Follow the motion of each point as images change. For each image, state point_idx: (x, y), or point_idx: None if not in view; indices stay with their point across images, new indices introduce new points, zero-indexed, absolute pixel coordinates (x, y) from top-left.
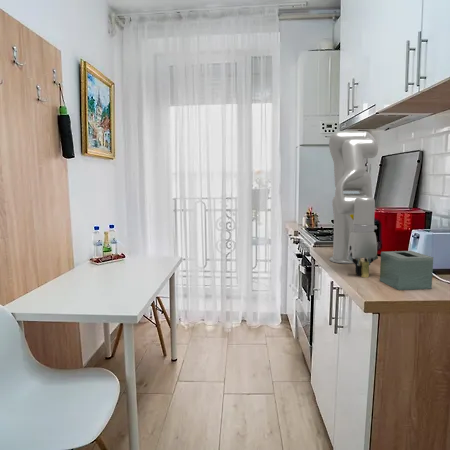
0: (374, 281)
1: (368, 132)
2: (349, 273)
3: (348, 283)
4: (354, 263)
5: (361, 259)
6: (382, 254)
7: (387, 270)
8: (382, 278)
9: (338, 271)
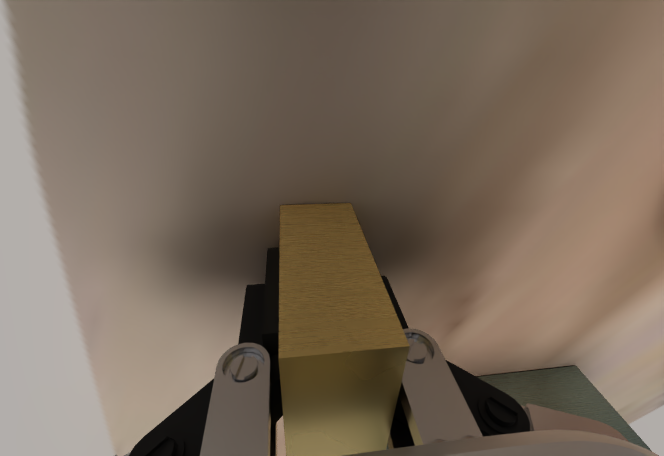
0: None
1: None
2: (207, 186)
3: (116, 439)
4: (212, 380)
5: (370, 385)
6: None
7: None
8: None
9: (52, 48)
